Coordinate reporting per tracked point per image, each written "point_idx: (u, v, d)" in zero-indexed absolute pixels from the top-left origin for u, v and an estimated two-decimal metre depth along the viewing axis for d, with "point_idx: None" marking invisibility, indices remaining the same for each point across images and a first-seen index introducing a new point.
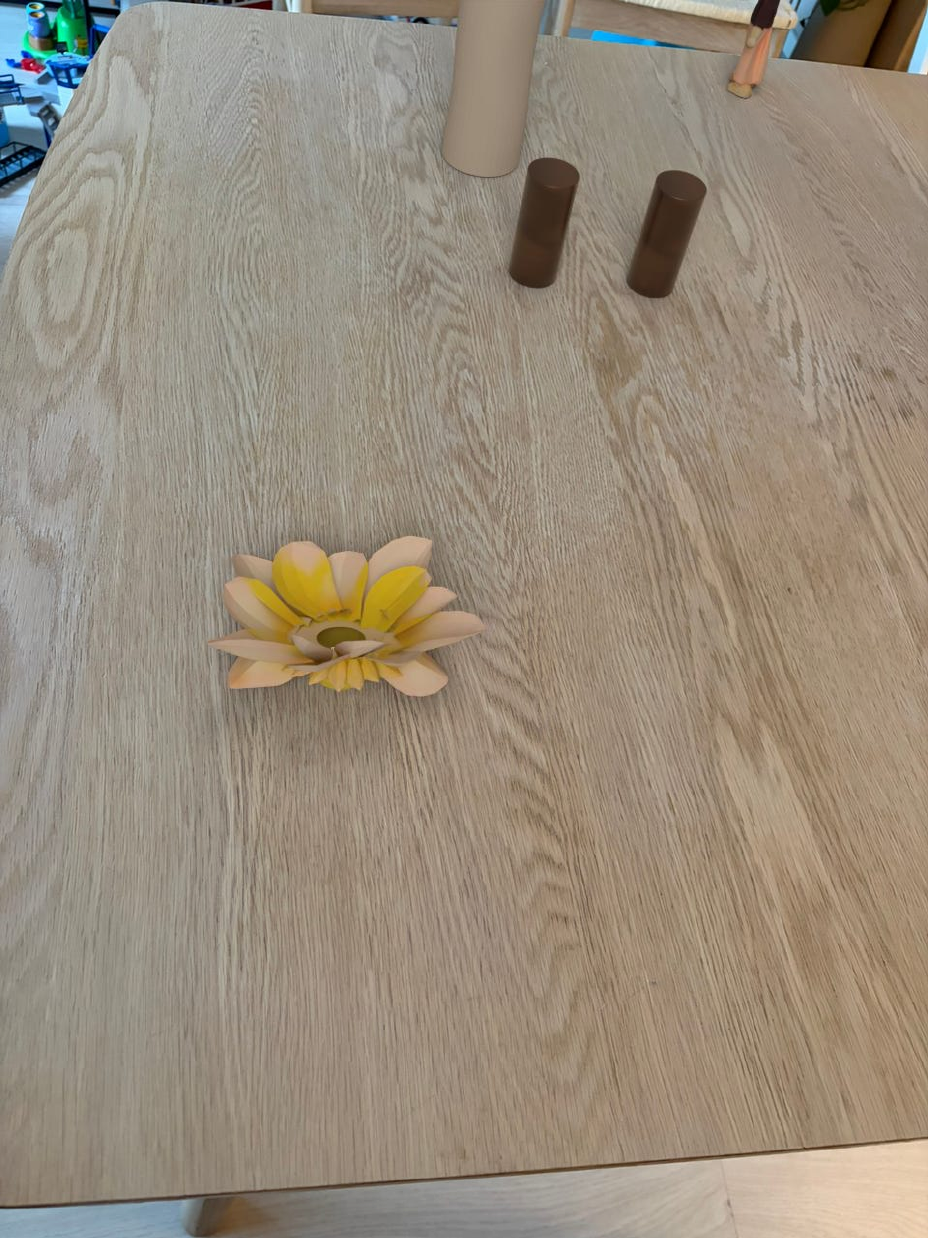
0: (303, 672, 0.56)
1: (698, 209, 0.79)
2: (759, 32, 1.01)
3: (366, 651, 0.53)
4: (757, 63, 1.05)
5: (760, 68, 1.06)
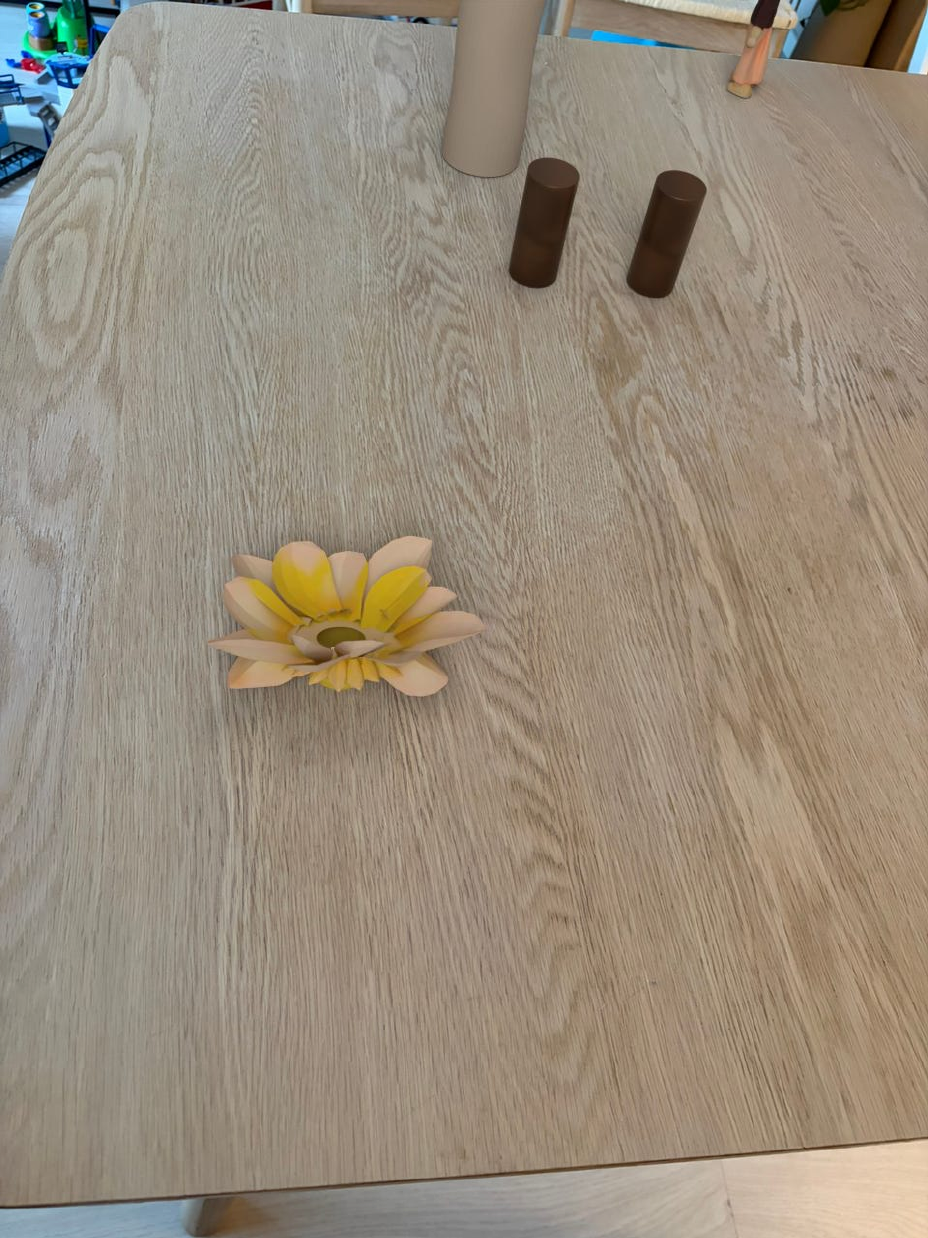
0: (303, 672, 0.56)
1: (698, 209, 0.79)
2: (759, 32, 1.01)
3: (366, 651, 0.53)
4: (757, 63, 1.05)
5: (760, 68, 1.06)
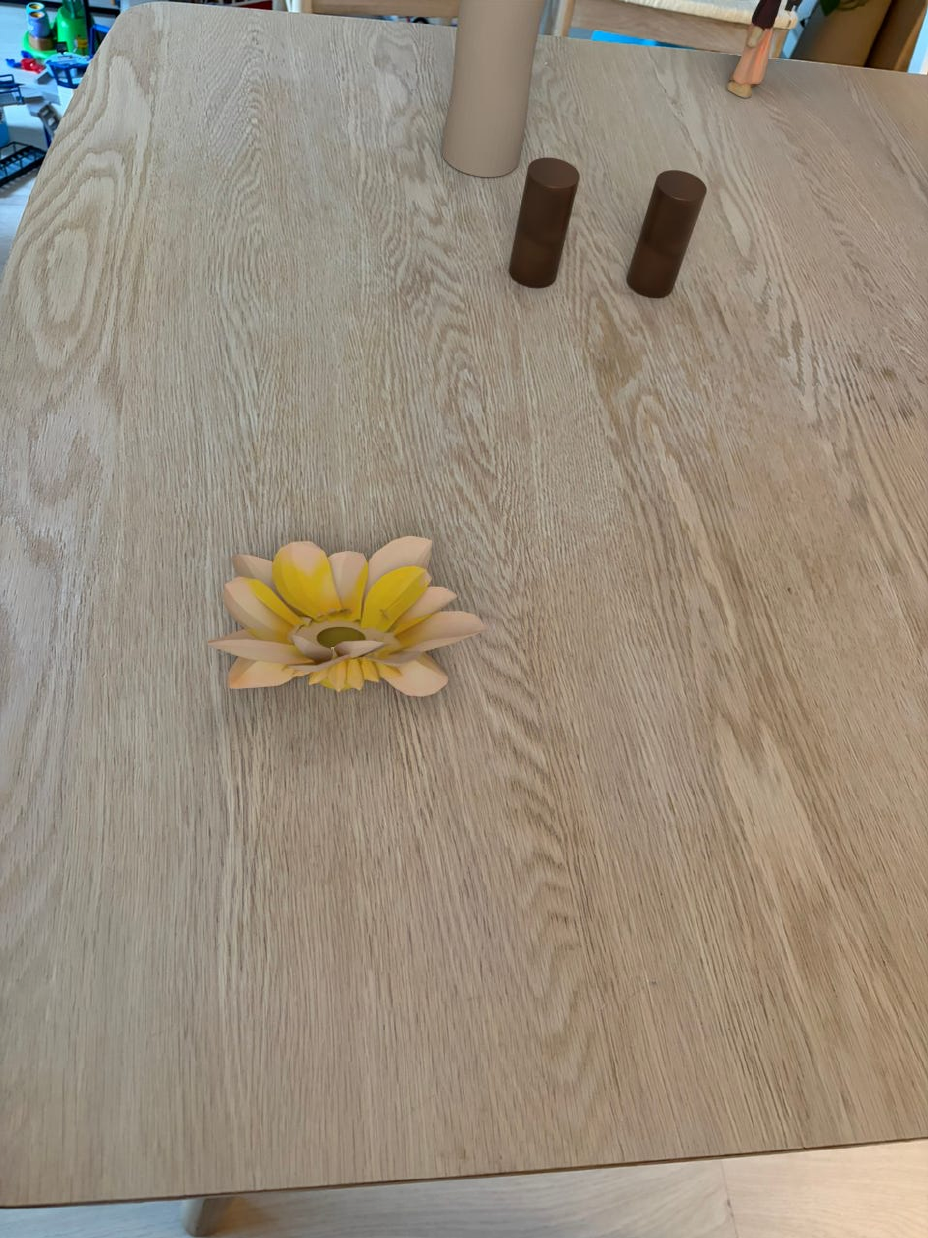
0: (303, 672, 0.56)
1: (698, 209, 0.79)
2: (761, 32, 1.01)
3: (366, 651, 0.53)
4: (757, 63, 1.05)
5: (760, 68, 1.06)
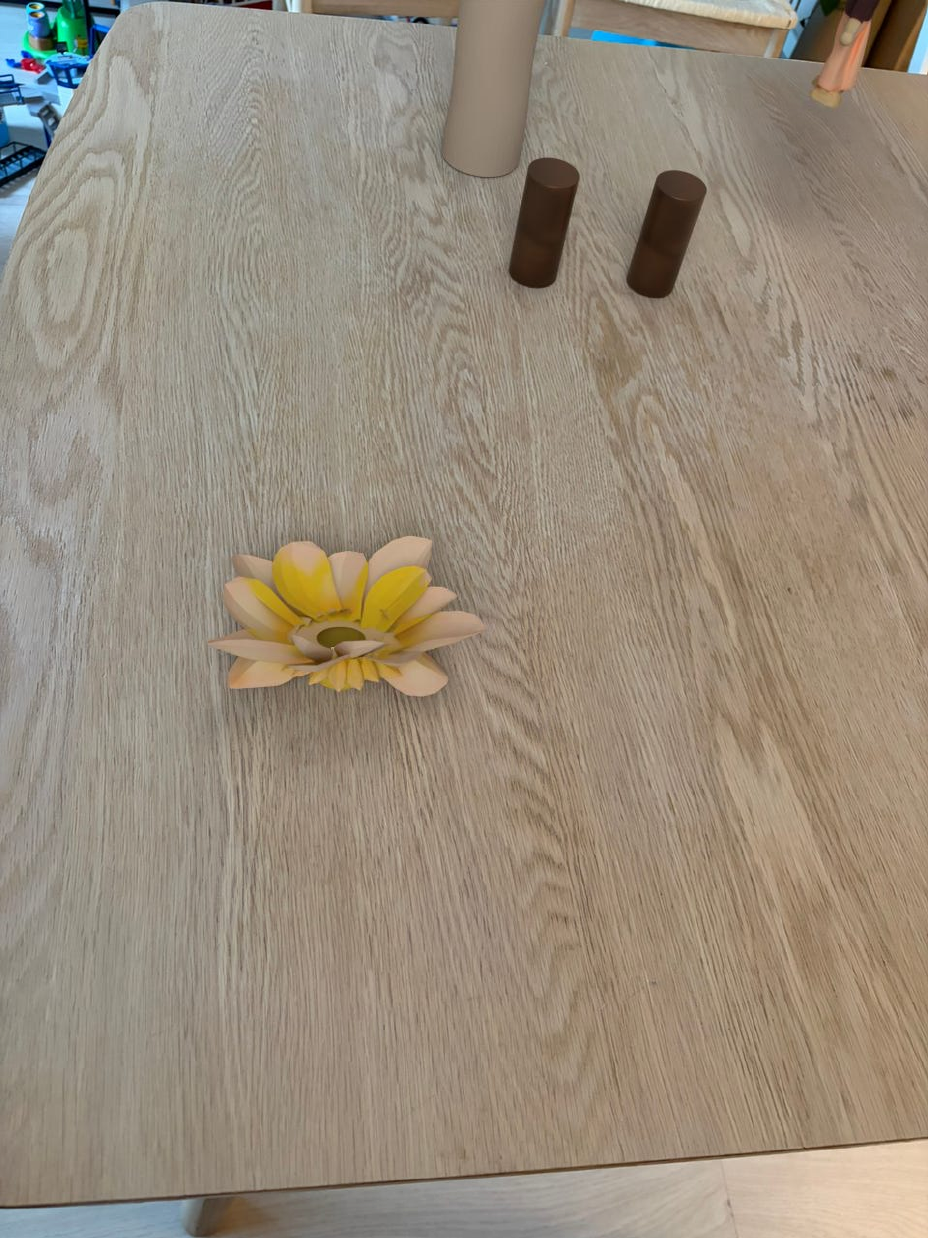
0: (303, 672, 0.56)
1: (698, 209, 0.79)
2: (858, 26, 0.80)
3: (366, 651, 0.53)
4: (849, 65, 0.84)
5: (853, 71, 0.84)
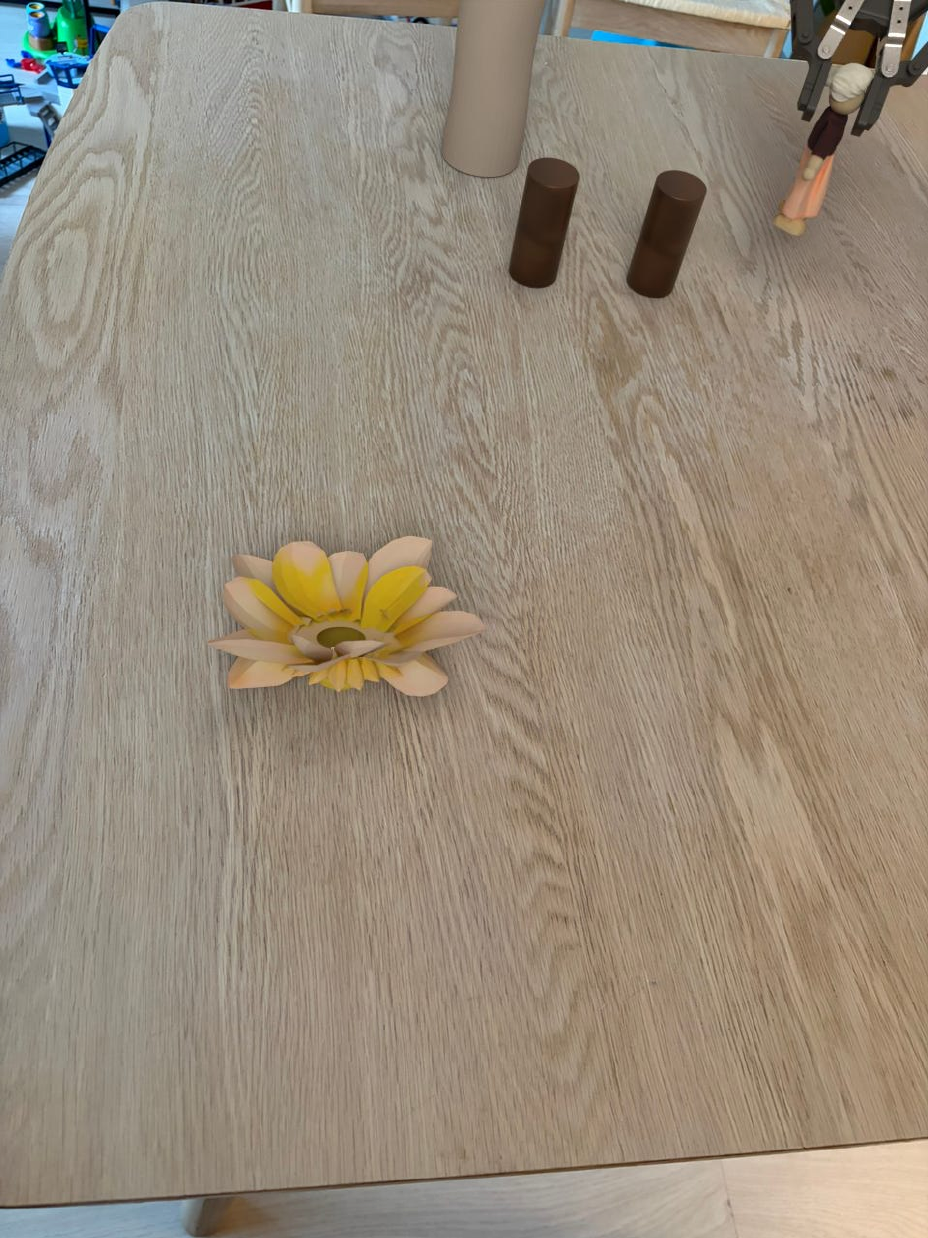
0: (303, 672, 0.56)
1: (698, 209, 0.79)
2: (820, 163, 0.79)
3: (366, 651, 0.53)
4: (813, 194, 0.83)
5: (817, 200, 0.84)
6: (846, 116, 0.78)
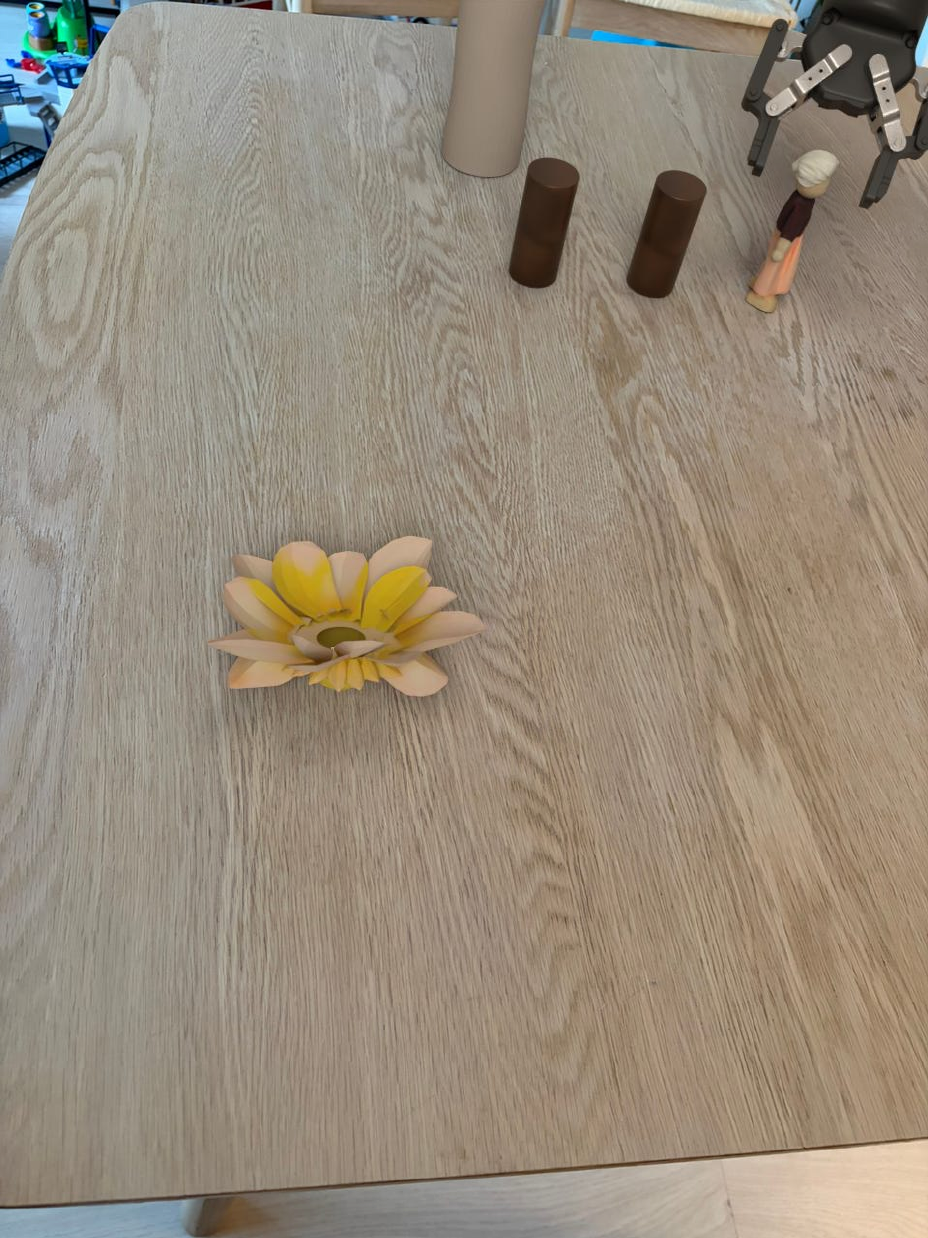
0: (303, 672, 0.56)
1: (698, 209, 0.79)
2: (788, 245, 0.80)
3: (366, 651, 0.53)
4: (784, 272, 0.85)
5: (787, 277, 0.85)
6: (813, 200, 0.80)
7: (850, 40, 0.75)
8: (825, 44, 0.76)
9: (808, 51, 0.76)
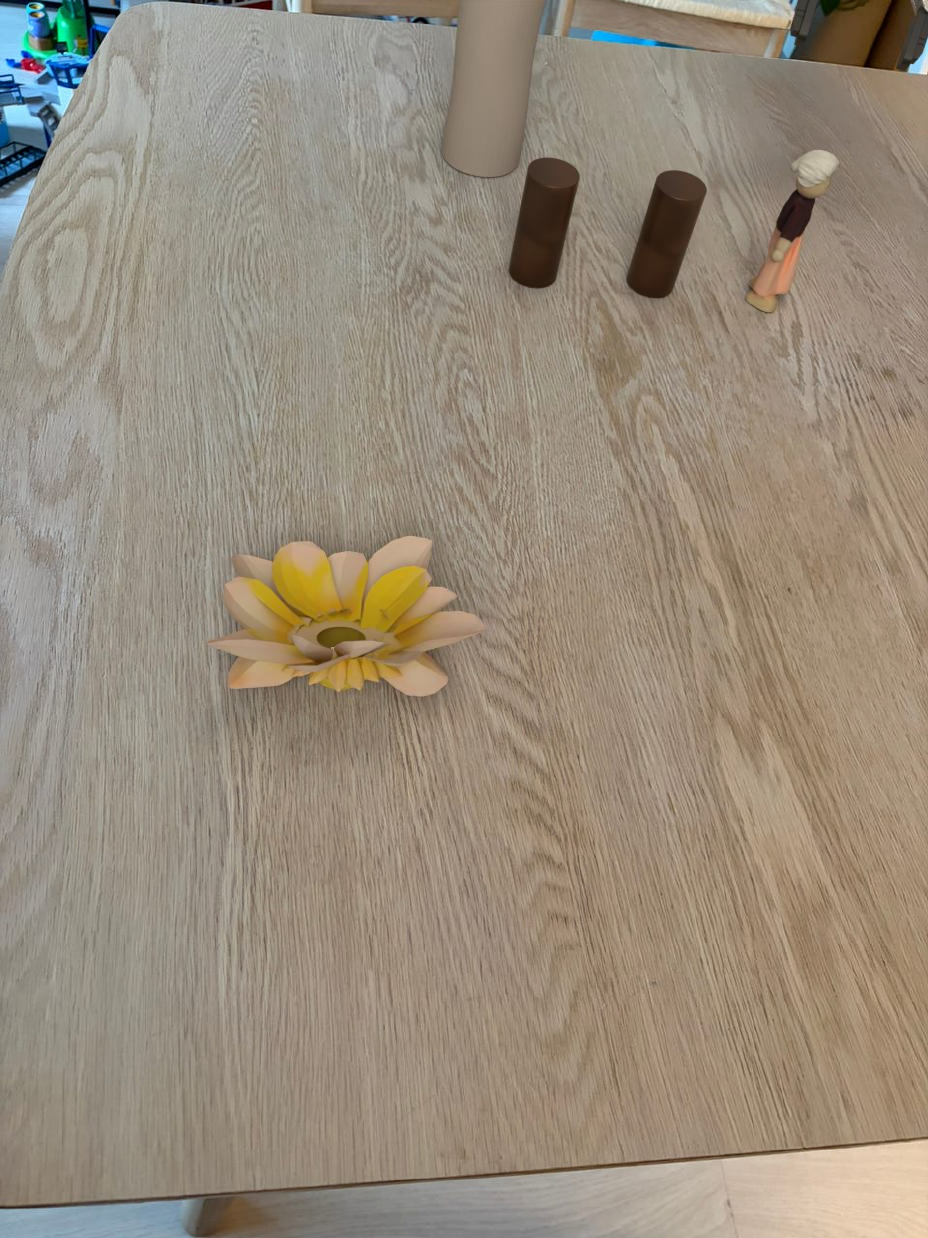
0: (303, 672, 0.56)
1: (698, 209, 0.79)
2: (788, 245, 0.80)
3: (366, 651, 0.53)
4: (784, 272, 0.85)
5: (787, 277, 0.85)
6: (813, 200, 0.80)
7: None
8: None
9: None
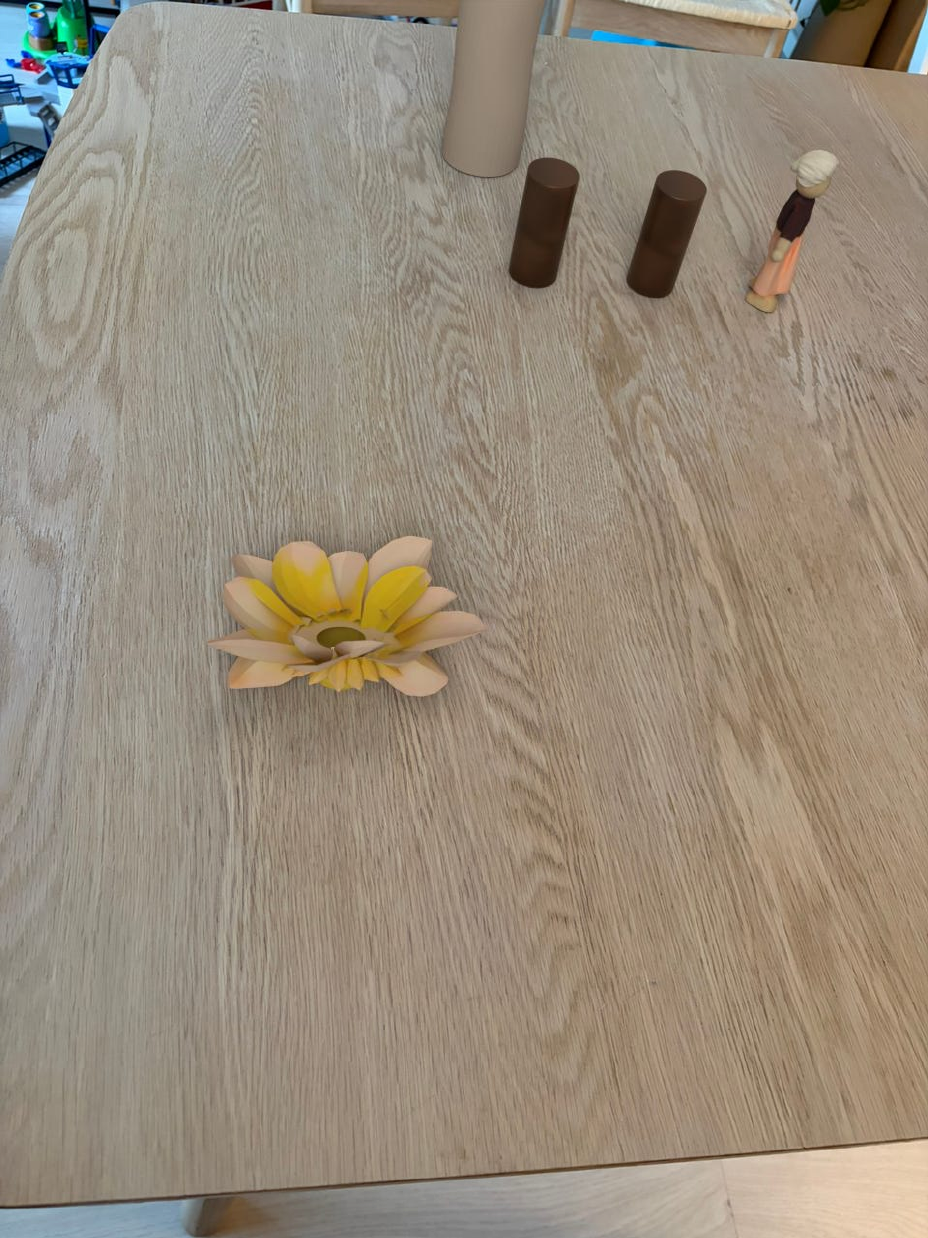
0: (303, 672, 0.56)
1: (698, 209, 0.79)
2: (788, 245, 0.80)
3: (366, 651, 0.53)
4: (784, 272, 0.85)
5: (787, 277, 0.85)
6: (813, 200, 0.80)
7: None
8: None
9: None
